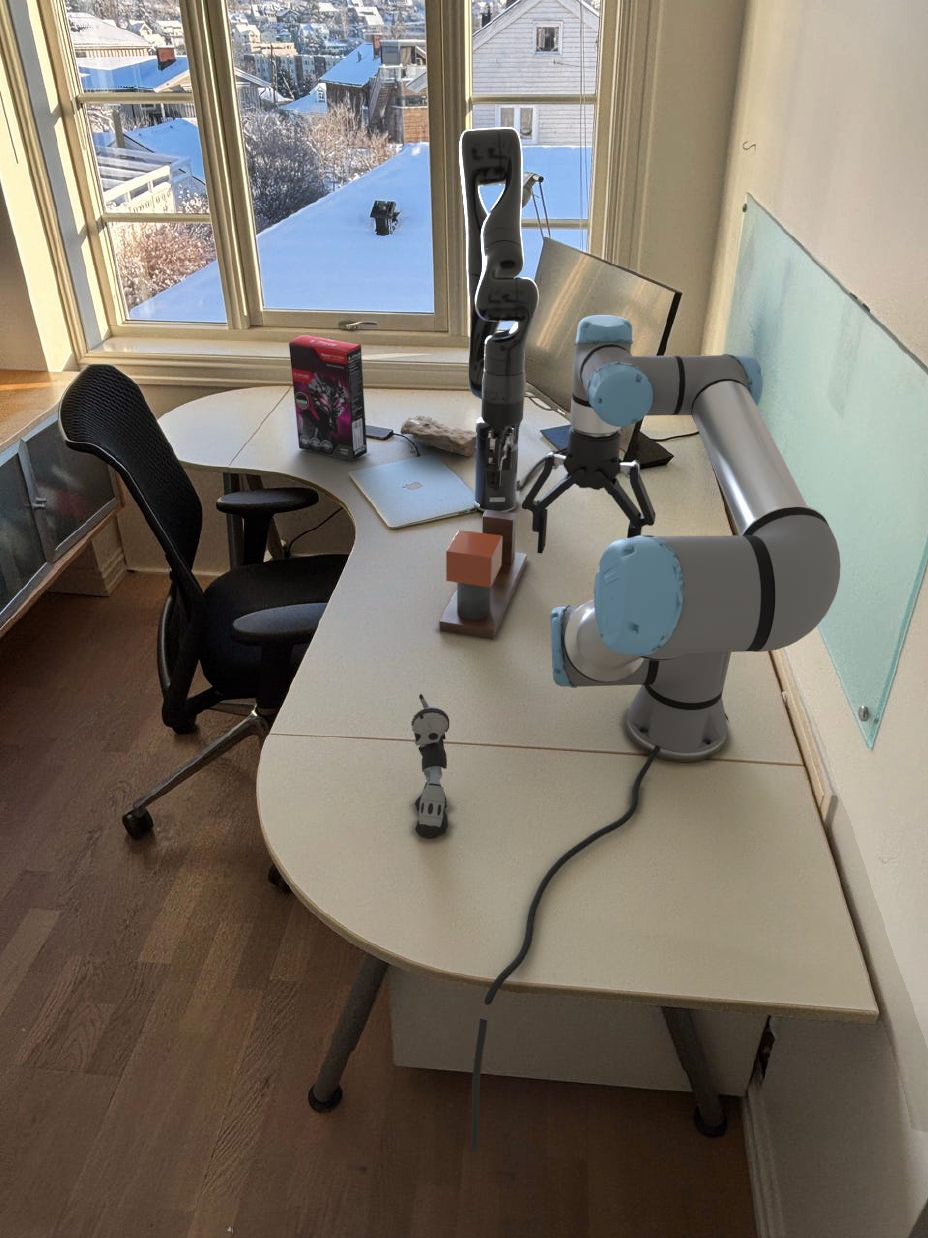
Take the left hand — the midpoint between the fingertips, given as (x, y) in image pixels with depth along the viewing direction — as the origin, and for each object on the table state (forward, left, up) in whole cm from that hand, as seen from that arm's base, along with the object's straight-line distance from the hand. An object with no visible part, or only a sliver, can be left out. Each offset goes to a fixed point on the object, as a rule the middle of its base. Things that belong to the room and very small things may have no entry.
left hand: (499, 478), depth 173 cm
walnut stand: (+10, 0, -20) cm, 22 cm away
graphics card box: (-44, -53, -20) cm, 71 cm away
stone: (-55, -29, -20) cm, 65 cm away
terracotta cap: (+19, 0, -10) cm, 21 cm away
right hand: (+28, +20, +2) cm, 35 cm away
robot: (+68, +7, -20) cm, 71 cm away
